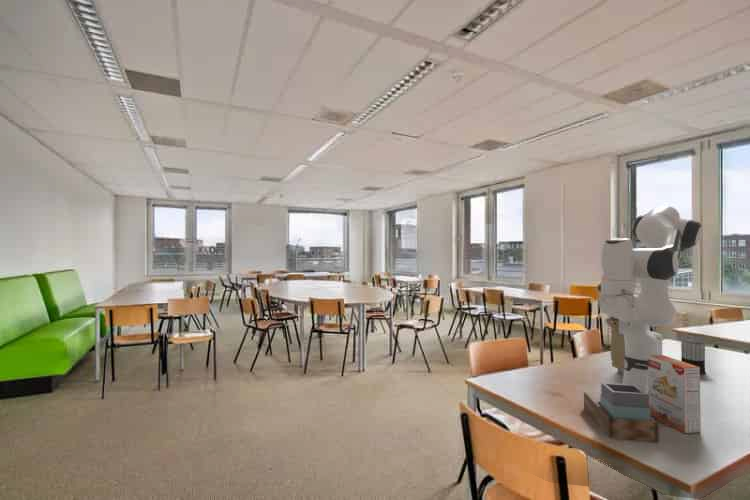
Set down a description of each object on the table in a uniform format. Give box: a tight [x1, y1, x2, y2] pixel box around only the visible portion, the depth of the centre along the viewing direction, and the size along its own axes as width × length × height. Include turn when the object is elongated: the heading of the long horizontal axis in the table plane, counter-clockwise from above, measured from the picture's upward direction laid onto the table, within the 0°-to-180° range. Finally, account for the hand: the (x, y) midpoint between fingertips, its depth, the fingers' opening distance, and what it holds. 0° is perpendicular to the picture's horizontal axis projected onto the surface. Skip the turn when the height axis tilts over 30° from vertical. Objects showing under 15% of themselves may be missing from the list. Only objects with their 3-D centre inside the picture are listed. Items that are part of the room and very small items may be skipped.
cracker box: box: [648, 354, 702, 435], centre depth 122 cm, size 14×6×21 cm, turn 5°
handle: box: [605, 317, 630, 369], centre depth 118 cm, size 5×6×15 cm
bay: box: [583, 391, 660, 444], centre depth 122 cm, size 13×22×6 cm, turn 169°
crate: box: [599, 382, 651, 421], centre depth 117 cm, size 10×10×12 cm
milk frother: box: [680, 337, 707, 375], centre depth 179 cm, size 14×16×15 cm
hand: (618, 331), depth 119 cm, fingers closed on handle, 4 cm apart
